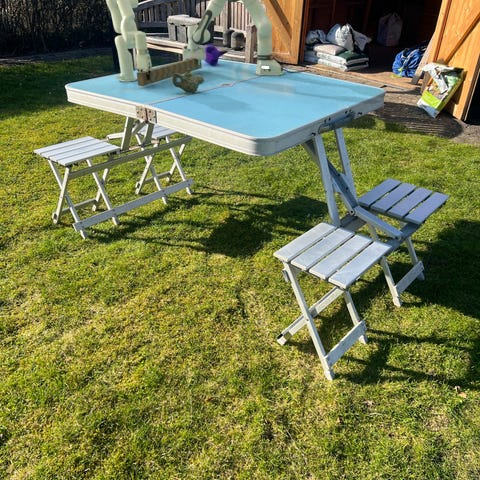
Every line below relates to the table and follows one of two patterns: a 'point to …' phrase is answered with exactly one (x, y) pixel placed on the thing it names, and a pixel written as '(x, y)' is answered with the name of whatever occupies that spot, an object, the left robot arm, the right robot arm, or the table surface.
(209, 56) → the toy
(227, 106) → the table surface
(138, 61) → the left robot arm
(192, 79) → the teapot
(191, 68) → the bar
